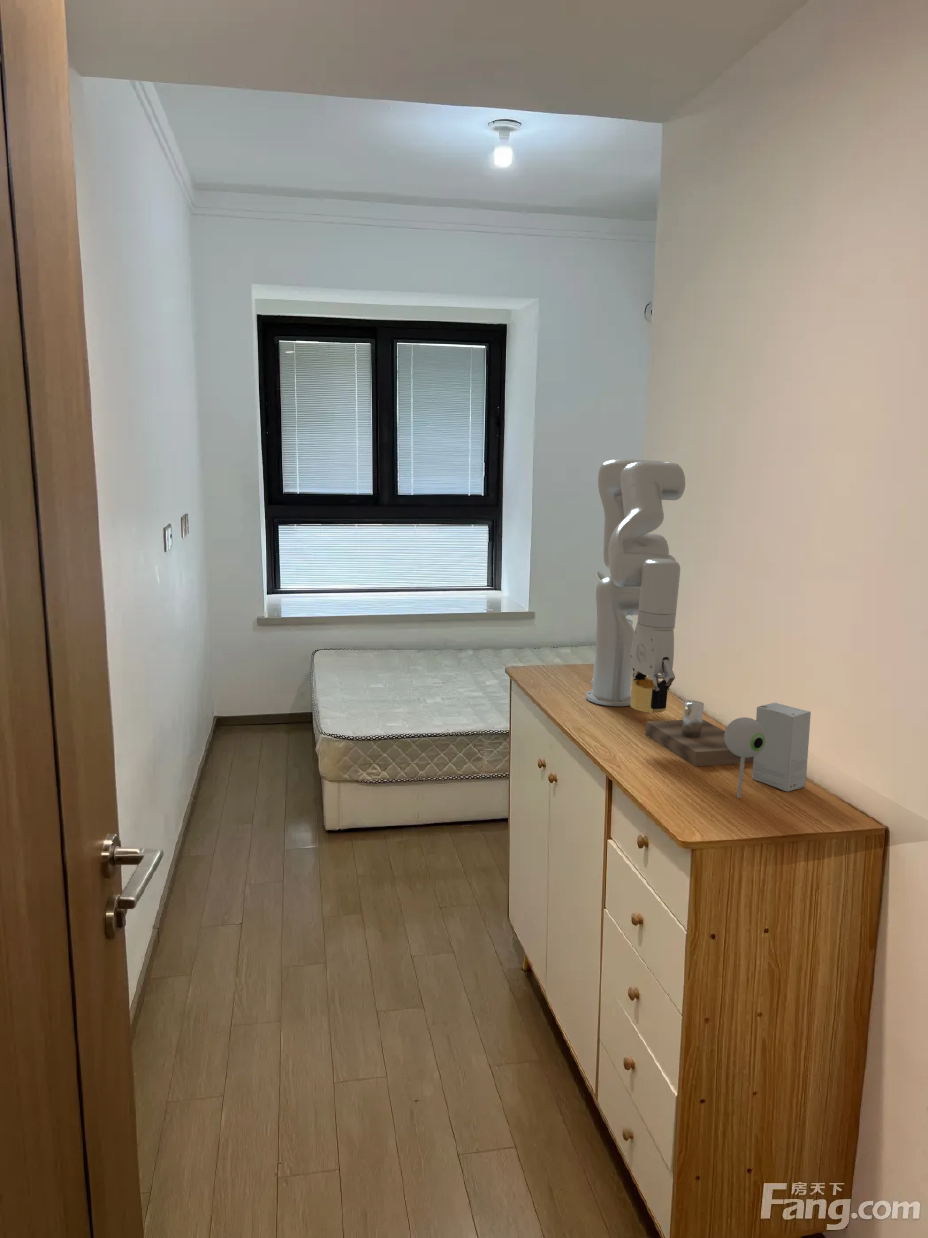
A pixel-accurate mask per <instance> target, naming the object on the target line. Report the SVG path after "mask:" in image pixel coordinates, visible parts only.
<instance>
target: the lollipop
mask: <svg viewBox="0 0 928 1238" xmlns="http://www.w3.org/2000/svg"><path fill="white" fill-rule="evenodd" d="M724 731H725V733H724V739H725V743H726V746H727V747H728V749H729V750H730V751H731V752H732V753H733V754H735V755H737V756H739V757H741V762H740V763H739V773H738V780H737V781H738V782H737V790H736V791H737V792H736V799H741V795H742V788H743V787H742V786H743V780H744V779H743V777H744V769H745V763H744V761H745V758H748V757H753V756H755V755H757V754H759V753H760V752H761V751H762V750H763V749H764V746H765V744H766V733H765V730H764V728H763V727H762V726H761V724H760V723H758V722H757V721H756V719H753V718H750V717H739V718H735V719H734V720H732V721H731V722H729V724H728V725H726V728H725V730H724Z"/></svg>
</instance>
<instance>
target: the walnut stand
mask: <svg viewBox="0 0 928 1238" xmlns="http://www.w3.org/2000/svg"><path fill="white" fill-rule="evenodd" d="M682 721H683V719H675V720H671V719H670V720H655V721H653V720H652V721H646V723H645V724H646V726H645V733H644V734H645V736H647V737H649V738H650V740H652V741H654V742H656V743H658V744H659V745H661V746H663V747H664V748H665V749H667V750H668V751H670V752H671V753H673V754H675V755H676V756H677V757H680V758H681V759H683V760H684V761H686V762H687V763H689V764H691V765H693V766H694V767H704V766H706V767H707V766H717V765H734V764H740V762H741V757H739V756H737V755H735V754H733V753H732V752H731V751H730V750H729V749H728V747H727V746H726V743H725V739H724V733H725V730H723V729H722V728H720V727H718V726H716V725H714V724H712V723H711V722H709V721H706V720H705V719H703V718H702V728H701V737H699V738H690V737H685V736H683V735H682V734H681V731H682ZM753 760H754V756H753V757H748V758H745V761H744V764H745V763H746V764H747V763H753Z"/></svg>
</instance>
